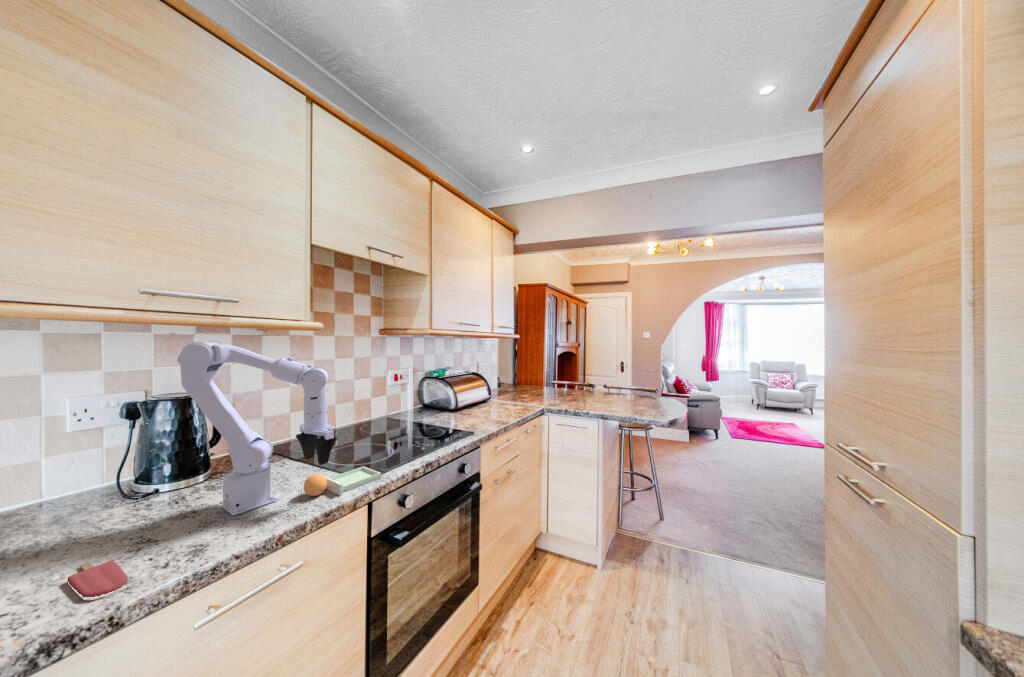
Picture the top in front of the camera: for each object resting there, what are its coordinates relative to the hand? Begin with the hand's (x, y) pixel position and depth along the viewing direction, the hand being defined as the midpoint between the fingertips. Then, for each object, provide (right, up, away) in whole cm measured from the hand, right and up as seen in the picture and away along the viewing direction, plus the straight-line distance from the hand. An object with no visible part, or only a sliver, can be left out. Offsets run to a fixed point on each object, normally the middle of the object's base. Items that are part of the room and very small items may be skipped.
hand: (316, 460), depth 93 cm
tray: (+6, -10, +9) cm, 15 cm away
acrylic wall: (+2, -10, +3) cm, 10 cm away
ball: (0, -7, 0) cm, 7 cm away
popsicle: (-20, -10, -33) cm, 40 cm away
